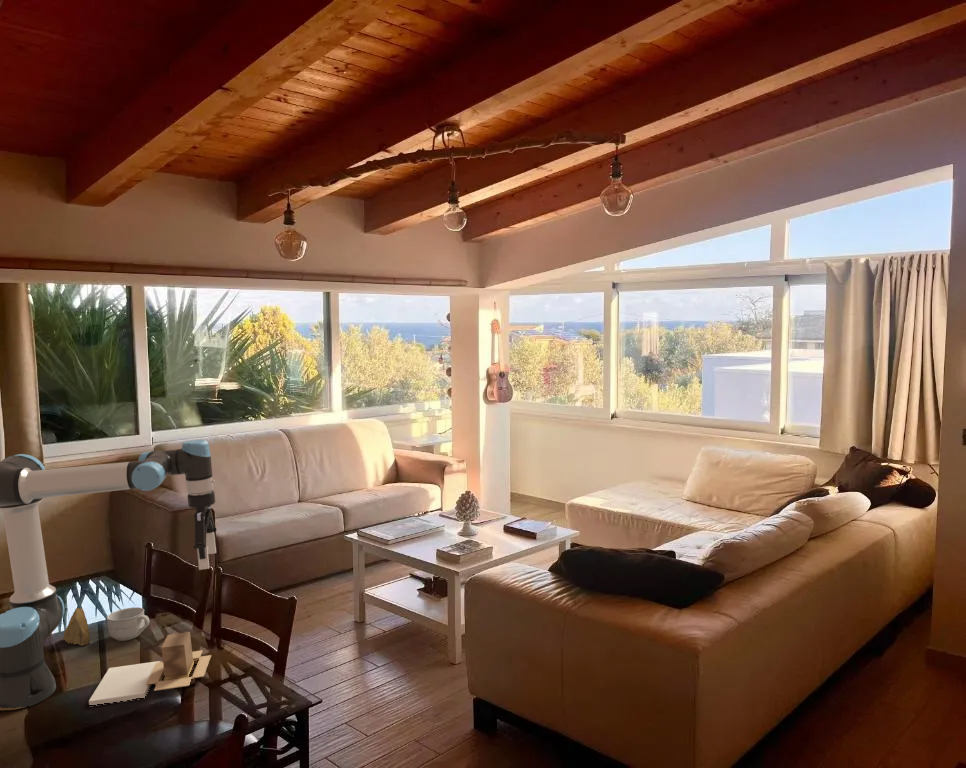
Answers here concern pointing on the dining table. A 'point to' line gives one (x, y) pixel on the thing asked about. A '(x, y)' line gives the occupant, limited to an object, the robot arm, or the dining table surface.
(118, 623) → the teacup
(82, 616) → the rock
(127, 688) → the board
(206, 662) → the carton
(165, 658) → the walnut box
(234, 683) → the dining table surface
